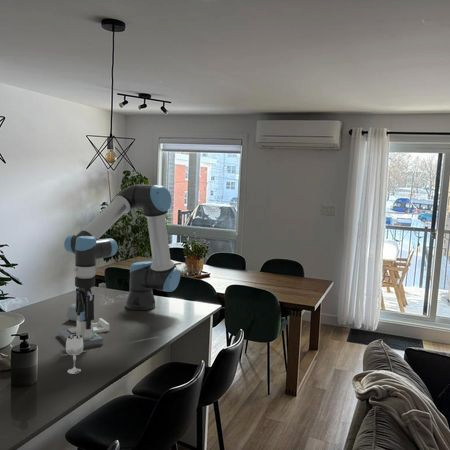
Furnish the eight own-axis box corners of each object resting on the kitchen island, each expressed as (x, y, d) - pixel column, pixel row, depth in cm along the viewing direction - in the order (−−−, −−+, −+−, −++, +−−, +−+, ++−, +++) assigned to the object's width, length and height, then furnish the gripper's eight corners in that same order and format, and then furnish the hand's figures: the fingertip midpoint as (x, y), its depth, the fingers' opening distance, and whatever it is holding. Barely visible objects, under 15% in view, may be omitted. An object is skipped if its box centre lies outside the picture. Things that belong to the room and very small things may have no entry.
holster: (101, 325, 200) (101, 318, 200) (109, 332, 193) (109, 323, 193) (82, 328, 195) (82, 320, 195) (90, 335, 188) (90, 326, 188)
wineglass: (67, 367, 156) (68, 333, 155) (84, 367, 157) (85, 334, 156) (63, 374, 151) (63, 339, 149) (80, 374, 151) (81, 340, 150)
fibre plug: (87, 342, 181) (88, 310, 179) (91, 345, 177) (92, 313, 176) (76, 344, 178) (76, 312, 177) (80, 347, 174) (80, 315, 173)
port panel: (86, 332, 192) (86, 324, 191) (102, 345, 177) (103, 337, 177) (57, 336, 185) (57, 328, 184) (72, 351, 170) (72, 342, 170)
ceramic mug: (81, 325, 200) (82, 308, 200) (66, 322, 203) (66, 305, 202) (95, 318, 210) (96, 302, 210) (80, 316, 213) (81, 300, 212)
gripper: (67, 272, 180) (66, 328, 182) (84, 282, 165) (83, 343, 167) (85, 270, 185) (84, 325, 187) (104, 280, 169) (102, 340, 172)
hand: (84, 333), depth 177 cm, fingers open, 6 cm apart
